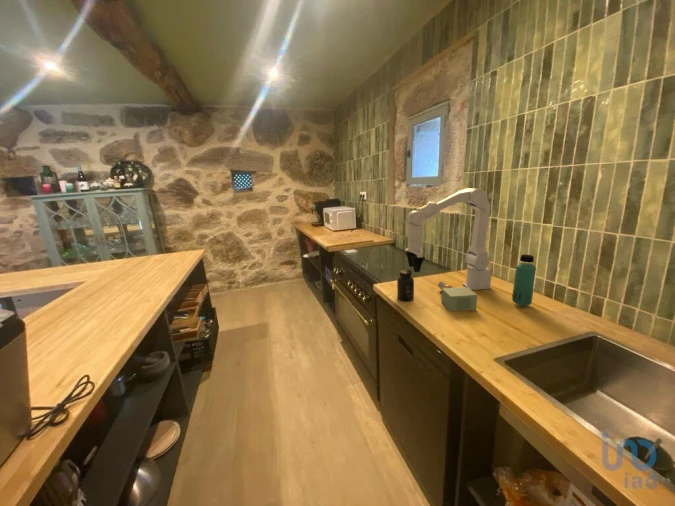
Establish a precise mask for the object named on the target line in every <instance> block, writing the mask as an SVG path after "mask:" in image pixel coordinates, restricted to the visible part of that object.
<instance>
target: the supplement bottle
mask: <svg viewBox="0 0 675 506" xmlns="http://www.w3.org/2000/svg"><path fill="white" fill-rule="evenodd" d="M412 273H413V272H412V271H411V270H409V269H403V270H402V269H400V270H399V277H398V278H397V279H396V280H397V281H396V283H397V284H396V286H397V287H396V291H397V299H398V300H400V301H402V302H410V301H413V300H414V298H415V280H414V278H413V276H412V275H413V274H412Z"/></svg>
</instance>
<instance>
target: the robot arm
mask: <svg viewBox="0 0 675 506" xmlns="http://www.w3.org/2000/svg"><path fill="white" fill-rule="evenodd" d="M458 203H464V204H466V205H468V206H470V207H471V208H472V209H473V210H474V211H475V213H474V220H473V230H472V238H471V244H470V247H469V248H467V253H466V254H465V256H464V259H465V262H466V263H467V265H466V267H467V268H466V281H465V282H462V285H463V286H464V287H468V288H469V289H470V290H472V291H474V290H475V291H476V290H490V289H492V287H491V282H492V271H491V269H490V268H489V267H488V266H489V265H490V260H489V252H488V250H487V249H486V242H487V235H488V228H489V220H490V213H491V212H490V211H491V205H490V201H489V198H488V192H486V191H485V190H484V189H482V188H480V187H479V188H472V187H471V188H470V187H466V188H464V189H461V190H458V191H457V192H455V193H453V194H452V195H449V196H448V197H446V198H444V199H442V200H440V201H437V202H436V201H435V202H434V201H432V202H431V201H428V202H427V203H426V205H423V206H422V207H417V208H416V210H412V211H409V213H408V214H407V216H406V222H407V224H408V227H407V228H408V229H407V248H404V253H405V255H406V258H407V262H408V267H410V268H411V267H412V268H413V272H414V273H419V272H421V268H422V265H423V262H424V261H425V259H426V257H425V255H423V248H422V246H423V245H422V242H423V237H422V236H423V224H424V222H425V221H427V220H429V219H431V218H434V217H436V216H438V215H439V214H440V212H441V210H444V209H447V208H449V207H451V206H453V205H455V204H458Z"/></svg>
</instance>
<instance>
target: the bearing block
mask: <svg viewBox="0 0 675 506" xmlns="http://www.w3.org/2000/svg"><path fill="white" fill-rule="evenodd" d="M477 301H478V294H477V293H476V292H474V290H470V289H469V288H468V287H466V286H463V287H462V286H461V287H459V286H458V287H453V288H442V289H441V301H440V302H441V304H442V305H443V306H444V307H446V309H447V310H448V311H449V312H457V311H459V312H460V311H474V310H477V303H478V302H477Z"/></svg>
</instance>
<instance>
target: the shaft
mask: <svg viewBox="0 0 675 506" xmlns="http://www.w3.org/2000/svg"><path fill="white" fill-rule="evenodd" d="M437 287H438V288H440V289H441V290H442V288H454V287H453V286H452V285H451V284H446V282H444V281H439V282H438V284H437Z"/></svg>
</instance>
